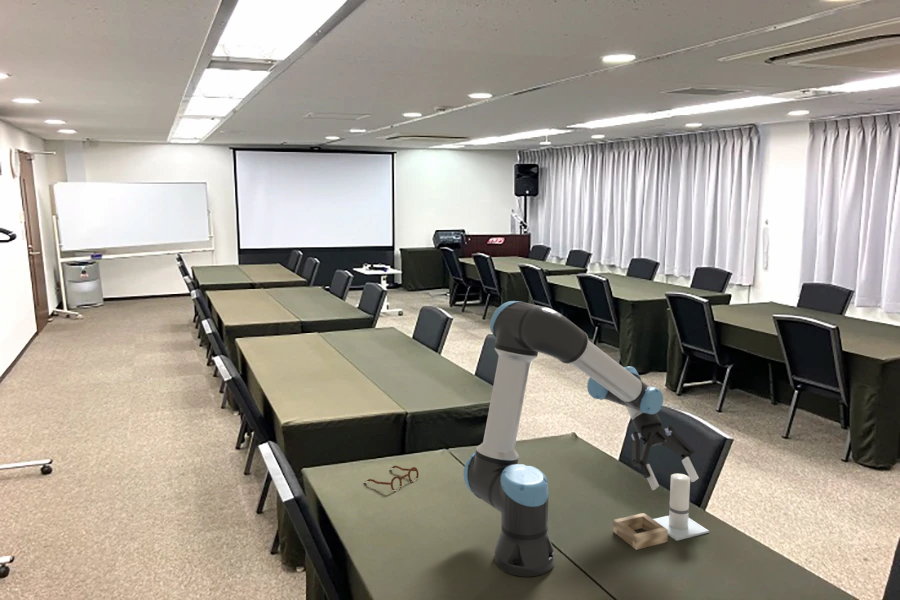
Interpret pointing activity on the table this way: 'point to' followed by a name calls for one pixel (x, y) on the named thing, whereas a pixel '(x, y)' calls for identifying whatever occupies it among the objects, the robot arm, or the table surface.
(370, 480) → the glasses
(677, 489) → the white banded cylinder
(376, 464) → the table surface
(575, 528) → the table surface
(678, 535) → the pad
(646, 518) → the collar
